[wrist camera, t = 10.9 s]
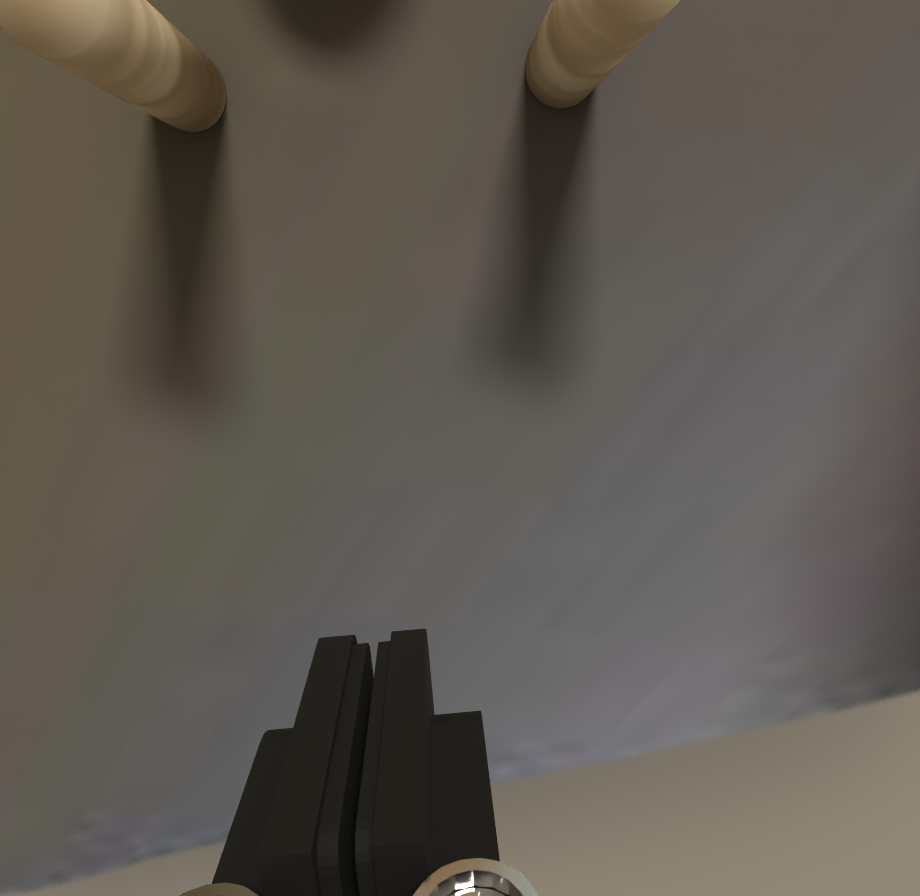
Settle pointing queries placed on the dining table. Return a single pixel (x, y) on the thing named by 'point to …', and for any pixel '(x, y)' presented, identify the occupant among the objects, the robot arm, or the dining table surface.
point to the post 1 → (123, 55)
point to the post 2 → (586, 45)
